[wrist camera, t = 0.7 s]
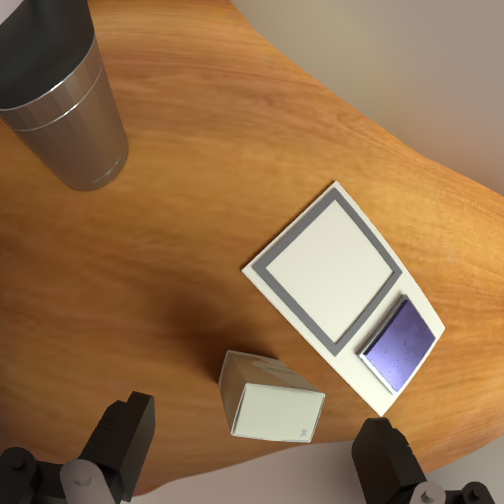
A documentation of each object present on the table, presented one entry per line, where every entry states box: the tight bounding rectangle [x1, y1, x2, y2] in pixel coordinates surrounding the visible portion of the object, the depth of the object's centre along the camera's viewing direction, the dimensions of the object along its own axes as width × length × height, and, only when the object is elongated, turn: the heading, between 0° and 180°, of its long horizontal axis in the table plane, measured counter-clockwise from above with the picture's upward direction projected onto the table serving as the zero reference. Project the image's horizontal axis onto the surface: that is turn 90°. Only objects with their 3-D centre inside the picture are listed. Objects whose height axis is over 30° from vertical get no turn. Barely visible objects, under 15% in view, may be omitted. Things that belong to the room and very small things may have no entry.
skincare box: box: [218, 350, 325, 442], centre depth 24 cm, size 6×4×12 cm
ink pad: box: [355, 294, 436, 396], centre depth 33 cm, size 9×10×2 cm
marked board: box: [241, 181, 445, 417], centre depth 33 cm, size 27×16×1 cm, turn 44°
